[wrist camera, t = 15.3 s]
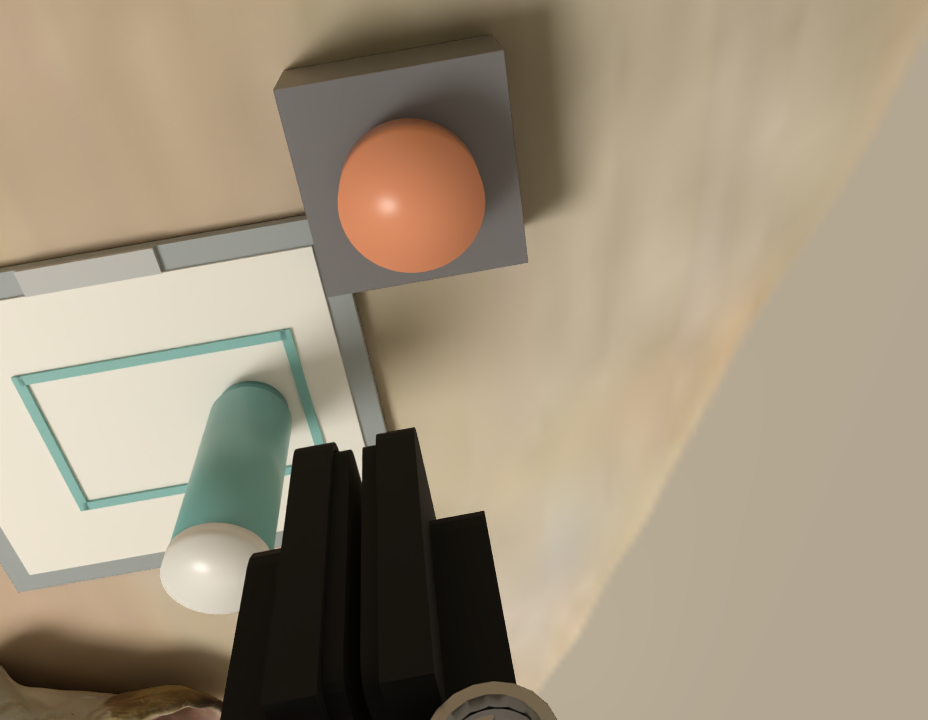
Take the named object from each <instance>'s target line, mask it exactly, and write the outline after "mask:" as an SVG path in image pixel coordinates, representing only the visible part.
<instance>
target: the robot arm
mask: <svg viewBox="0 0 928 720" xmlns="http://www.w3.org/2000/svg"><path fill="white" fill-rule="evenodd" d="M220 720H557V718H556V716H555V715H554V713H553V712H552V710H551V708H550V707H549V705H548V704H547V703H546V702H545V701H544V700H542V699H541V698H540V697H539V696H538V695H537V694H535V693H534V692H533V691H531V690H529V689H526V688H524V687H521V686H519V685H517V684H516V680H515V675H514V669H513V664H512V658H511V653H510V648H509V642H508V637H507V631H506V626H505V620H504V615H503V610H502V604H501V599H500V593H499V588H498V582H497V577H496V572H495V566H494V561H493V555H492V550H491V545H490V539H489V534H488V528H487V523H486V517H485V512H484V511H480V512H475V513H470V514H464V515H459V516H453V517H448V518H442V519H437V520H436V517H435V512H434V508H433V503H432V499H431V494H430V490H429V485H428V481H427V477H426V472H425V468H424V463H423V459H422V454H421V450H420V445H419V441H418V437H417V433H416V429H415V427H413V428H407V429H402V430H396V431H391V432H385V433H380V434H376V445H372V446H367V447H363V448H362V481H361V478H360V474H359V471H358V467H357V463H356V460H355V457H354V453H353V451H352V450H351V449H350V450H345V451H339V449H338V447H337V445H336V443H335V442H331V443H325V444H320V445H314V446H309V447H303V448H298V449H295V450H294V454H293V460H292V468H291V475H290V483H289V491H288V499H287V506H286V514H285V522H284V529H283V537H282V545H281V548H279V549H274V550H268V551H263V552H257V553H253V554H252V555H251V557H250V558H249V561H248V565H247V569H246V575H245V580H244V586H243V592H242V598H241V603H240V609H239V615H238V620H237V626H236V632H235V637H234V643H233V649H232V654H231V660H230V666H229V671H228V677H227V683H226V688H225V694H224V700H223V705H222V711H221V717H220Z"/></svg>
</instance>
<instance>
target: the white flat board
mask: <svg viewBox="0 0 928 720" xmlns="http://www.w3.org/2000/svg"><path fill="white" fill-rule="evenodd" d="M243 381H258V382H263V383H266V384H268V385H271V386H272V387H274V388H276V389H277V390H278V391H279V392H280V393H281V394H282V395H283V396H284V398H285V399H286V401H287V404H288V408H289V410H290V413H291V416H292V428H291V435H290V442H289V449H288V456H287V463H286V470H285V476H284V483H283V490H282V497H281V504H280V511H279V518H278V525H277V531H276V538H275V545H274V548H275V547H281V545H282V537H283V529H284V522H285V514H286V506H287V499H288V491H289V483H290V475H291V468H292V460H293V454H294V450H295V449H298V448H303V447H309V446H314V445H320V444H325V443H331V442H335V443H336V445H337V447H338V449H339V451H345V450H350V449H351V450H352V451H353V453H354V457H355V460H356V463H357V467H358V471H359V474H360V478H361V481H362V448H363V447H367V446H372V445H376V434H380V433H385V432H387V428H386V424H385V420H384V416H383V412H382V408H381V404H380V399H379V395H378V391H377V387H376V383H375V379H374V375H373V371H372V367H371V363H370V359H369V355H368V350H367V346H366V342H365V338H364V334H363V330H362V326H361V322H360V318H359V314H358V310H357V306H356V301H355V297H354V293H351V294H345V295H339V296H334V297H328V296H327V292H326V288H325V285H324V281H323V277H322V273H321V270H320V266H319V262H318V258H317V254H316V251H315V247H314V243H313V239H312V236H311V232H310V228H309V224H308V220H307V217H306V215H302V216H296V217H291V218H285V219H279V220H273V221H268V222H262V223H256V224H250V225H245V226H239V227H233V228H227V229H222V230H216V231H210V232H205V233H199V234H193V235H187V236H182V237H176V238H170V239H164V240H159V241H153V242H147V243H141V244H136V245H130V246H124V247H118V248H113V249H107V250H101V251H95V252H90V253H84V254H78V255H72V256H67V257H61V258H55V259H49V260H44V261H38V262H32V263H26V264H21V265H15V266H9V267H3V268H0V564H1V566H2V567H3V569H4V570H5V572H6V574H7V575H8V577H9V578H10V580H11V582H12V583H13V585H14V586H15V588H16V590H17V591H18V593H19V592H24V591H30V590H36V589H41V588H47V587H53V586H58V585H64V584H70V583H76V582H81V581H87V580H93V579H98V578H104V577H110V576H115V575H121V574H127V573H133V572H138V571H144V570H150V569H155V568H161V564H162V561H163V558H164V555H165V551H166V549H167V546H168V545H169V543H170V541H171V538H172V534H173V531H174V528H175V524H176V521H177V518H178V515H179V511H180V508H181V505H182V502H183V498H184V495H185V492H186V488H187V485H188V482H189V479H190V475H191V472H192V469H193V466H194V462H195V459H196V456H197V452H198V449H199V446H200V443H201V439H202V436H203V433H204V430H205V426H206V423H207V420H208V416H209V413H210V410H211V407H212V405H213V404H214V402H215V401H216V400H217V398H219V397H220V396H221V395H222V394H223V392H224V391H225V390H226V389H227V388H229V387H230V386H232V385H234V384H236V383H239V382H243Z"/></svg>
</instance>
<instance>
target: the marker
mask: <svg viewBox="0 0 928 720" xmlns="http://www.w3.org/2000/svg"><path fill="white" fill-rule="evenodd" d="M291 428H292V416H291V413H290V410H289V408H288V404H287V401H286V399H285V398H284V396H283V395H282V394H281V393H280V392H279V391H278V390H277V389H276V388H274V387H272V386H271V385H268V384H266V383H263V382H258V381H243V382H239V383H236V384H234V385H232V386H230V387H229V388H227V389H226V390H225V391H224V392H223V394H222V395H221V396H220V397H219V398H217V400H216V401H215V402H214V404H213V405H212V407H211V410H210V413H209V416H208V420H207V423H206V426H205V430H204V433H203V436H202V439H201V443H200V446H199V449H198V452H197V456H196V459H195V462H194V466H193V469H192V472H191V475H190V479H189V482H188V485H187V488H186V492H185V495H184V498H183V502H182V505H181V508H180V511H179V515H178V518H177V521H176V524H175V528H174V531H173V534H172V538H171V541H170V543H169V545H168V546H167V549H166V551H165V555H164V558H163V561H162V564H161V569H160V578H161V582H162V585H163V587H164V589H165V590H166V592H167V593H168V594H169V595H170V596H171V597H172V598H173V599H174V600H175V601H176V602H178V603H179V604H181V605H183V606H184V607H187V608H189V609H191V610H194V611H198V612H202V613H208V614H229V613H235V612H239V609H240V603H241V598H242V592H243V586H244V580H245V575H246V569H247V565H248V561H249V558H250V557H251V555H252V554H253V553H257V552H263V551H268V550H274V545H275V538H276V531H277V525H278V518H279V511H280V504H281V497H282V490H283V483H284V476H285V470H286V463H287V456H288V449H289V442H290V435H291Z"/></svg>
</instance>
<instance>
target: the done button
mask: <svg viewBox="0 0 928 720" xmlns="http://www.w3.org/2000/svg"><path fill="white" fill-rule="evenodd" d="M484 212H485V192H484V187H483V183H482V180H481V177H480V174H479V171H478V169H477V166H476V163H475V160H474V158H473V156H472V154H471V152H470V151H469V149H468V148H467V147H466V145H465V144H464V143H463V142H462V141H461V139H460V138H459V137H457V136H456V135H455V134H454V133H453V132H451V131H450V130H448V129H447V128H445V127H443V126H441V125H439V124H437V123H434V122H431V121H428V120H423V119H417V118H403V119H396V120H392V121H388V122H385V123H382V124H380V125H378V126H376V127H374V128H372V129H371V130H369V131H368V132H367V133H365V134H364V135H363V136H362V137H361V138H360V139H359V140H358V141H357V142H356V143H355V144H354V146H353V147H352V148H351V150H350V151H349V153H348V155H347V157H346V159H345V161H344V164H343V167H342V171H341V176H340V183H339V191H338V213H339V218H340V221H341V225H342V227H343V230H344V232H345V234H346V236H347V237H348V239H349V240H350V242H351V243H352V245H353V246H354V247H355V248H356V249H357V250H358V251H359V252H360V253H361V254H362V255H363V256H364V257H366V258H367V259H368V260H370V261H371V262H373V263H375V264H377V265H379V266H381V267H384V268H386V269H389V270H393V271H397V272H404V273H418V272H426V271H430V270H434V269H437V268H439V267H442V266H444V265H446V264H448V263H450V262H452V261H453V260H454V259H456V258H457V257H459V256H460V255H461V254H462V253H463V252H464V251H465V250H466V249H467V248H468V247H469V246H470V245H471V243H472V242H473V240H474V239H475V237H476V235H477V233H478V231H479V230H480V227H481V224H482V221H483V217H484Z"/></svg>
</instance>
